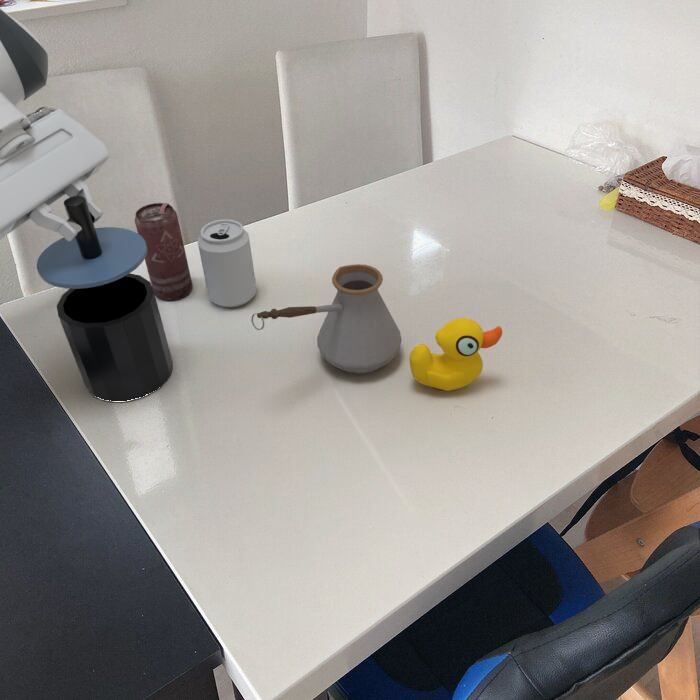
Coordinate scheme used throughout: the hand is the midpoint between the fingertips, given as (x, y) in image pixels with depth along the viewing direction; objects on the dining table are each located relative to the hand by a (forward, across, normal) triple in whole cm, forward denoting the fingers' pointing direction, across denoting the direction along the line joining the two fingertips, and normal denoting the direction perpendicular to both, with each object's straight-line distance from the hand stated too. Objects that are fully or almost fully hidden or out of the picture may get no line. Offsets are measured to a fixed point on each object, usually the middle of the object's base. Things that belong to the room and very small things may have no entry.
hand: (87, 227), depth 78 cm
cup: (+15, 0, -16) cm, 23 cm away
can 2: (+19, -20, -13) cm, 31 cm away
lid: (+3, 0, -3) cm, 4 cm away
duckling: (+45, -12, +13) cm, 48 cm away
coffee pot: (+34, -9, +2) cm, 35 cm away
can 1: (+12, -19, -20) cm, 30 cm away
